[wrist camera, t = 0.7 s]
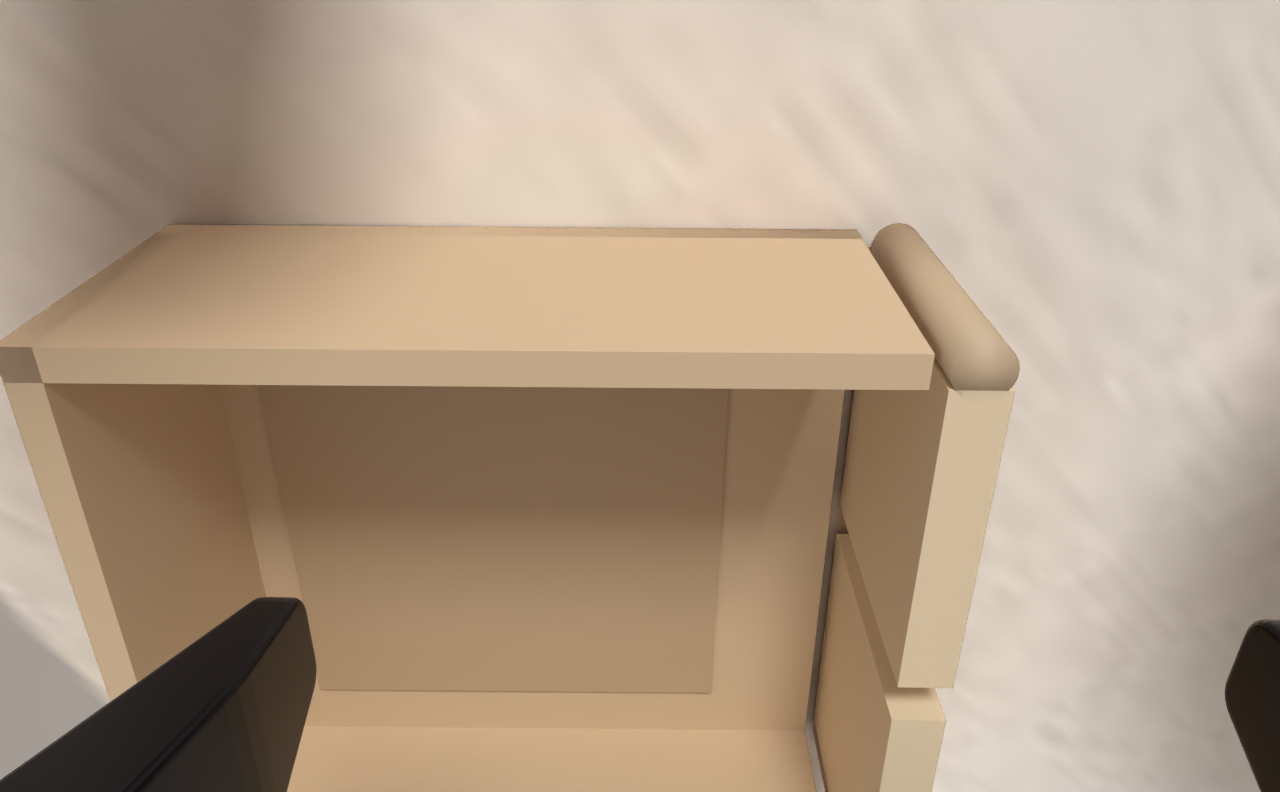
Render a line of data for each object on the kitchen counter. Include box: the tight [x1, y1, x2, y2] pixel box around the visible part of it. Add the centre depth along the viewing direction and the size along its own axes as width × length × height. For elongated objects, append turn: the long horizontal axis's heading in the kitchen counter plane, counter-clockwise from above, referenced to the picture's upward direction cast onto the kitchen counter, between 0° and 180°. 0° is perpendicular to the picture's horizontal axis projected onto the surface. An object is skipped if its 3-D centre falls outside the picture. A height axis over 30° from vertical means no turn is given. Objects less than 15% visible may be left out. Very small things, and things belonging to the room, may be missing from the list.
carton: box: [0, 225, 935, 792], centre depth 20 cm, size 14×14×6 cm
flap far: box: [813, 534, 946, 792], centre depth 22 cm, size 1×7×6 cm, turn 0°
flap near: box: [840, 223, 1019, 688], centre depth 18 cm, size 1×7×6 cm, turn 0°
